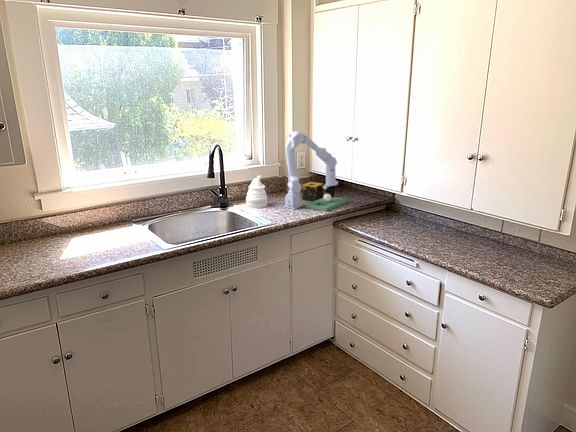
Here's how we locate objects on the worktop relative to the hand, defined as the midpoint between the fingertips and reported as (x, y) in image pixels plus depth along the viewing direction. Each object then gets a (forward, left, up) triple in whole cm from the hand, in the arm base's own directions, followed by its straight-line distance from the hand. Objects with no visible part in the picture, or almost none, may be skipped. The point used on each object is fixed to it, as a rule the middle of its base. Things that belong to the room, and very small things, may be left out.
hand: (330, 198), depth 260 cm
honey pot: (-29, +34, -4) cm, 45 cm away
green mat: (-4, 0, -4) cm, 5 cm away
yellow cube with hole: (+2, +14, -4) cm, 15 cm away
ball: (-4, 0, +1) cm, 4 cm away
